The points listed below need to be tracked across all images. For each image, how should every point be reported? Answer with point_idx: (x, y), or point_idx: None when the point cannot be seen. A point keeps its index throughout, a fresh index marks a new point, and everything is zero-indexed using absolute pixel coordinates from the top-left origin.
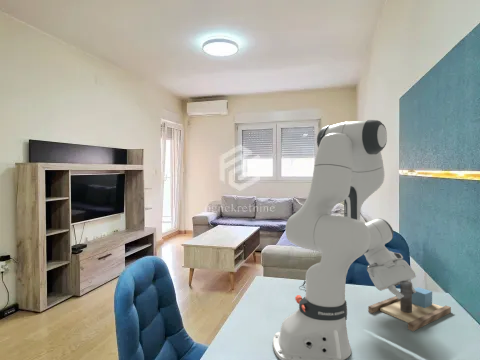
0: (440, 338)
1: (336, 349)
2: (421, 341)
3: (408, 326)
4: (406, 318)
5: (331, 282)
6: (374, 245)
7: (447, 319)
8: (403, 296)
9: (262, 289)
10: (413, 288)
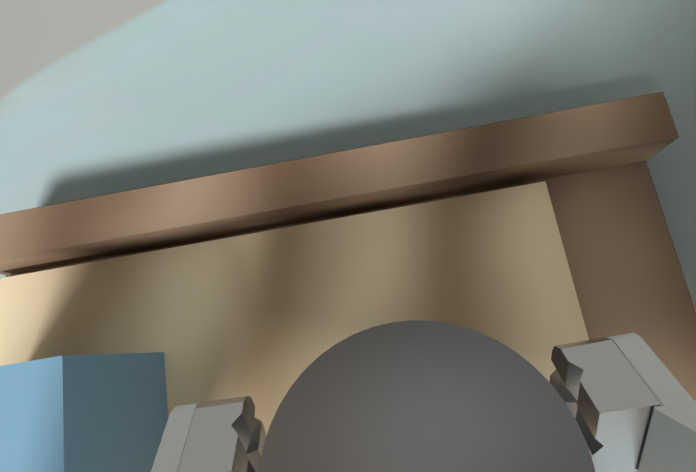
0: (468, 25)
1: None
2: (644, 39)
3: (658, 147)
4: (555, 258)
5: None
6: None
7: None
8: (575, 343)
9: None
10: (164, 460)
